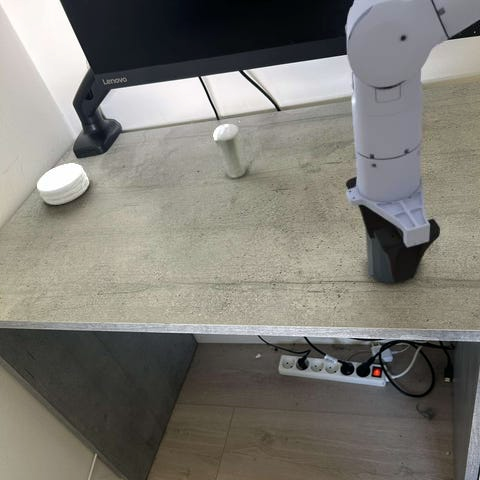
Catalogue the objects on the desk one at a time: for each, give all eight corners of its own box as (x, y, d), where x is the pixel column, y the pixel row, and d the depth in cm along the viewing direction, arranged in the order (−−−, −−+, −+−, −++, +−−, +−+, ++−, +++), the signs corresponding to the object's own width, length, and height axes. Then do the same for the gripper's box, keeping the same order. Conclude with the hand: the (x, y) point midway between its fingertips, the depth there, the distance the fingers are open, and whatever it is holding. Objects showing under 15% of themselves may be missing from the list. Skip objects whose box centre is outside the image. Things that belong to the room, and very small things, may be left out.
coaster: (86, 171, 105) (78, 156, 102) (93, 192, 98) (85, 177, 96) (42, 190, 104) (33, 176, 101) (47, 212, 97) (38, 197, 95)
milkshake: (249, 179, 88) (235, 127, 80) (222, 180, 90) (206, 129, 82) (256, 165, 90) (244, 113, 83) (229, 166, 92) (215, 116, 85)
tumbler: (413, 247, 67) (415, 192, 60) (422, 280, 62) (425, 224, 56) (365, 254, 68) (362, 201, 61) (371, 286, 64) (367, 233, 57)
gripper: (322, 120, 49) (335, 227, 59) (370, 198, 39) (376, 311, 49) (391, 99, 48) (393, 210, 58) (458, 172, 38) (446, 292, 48)
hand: (390, 255), depth 53 cm, fingers open, 7 cm apart
